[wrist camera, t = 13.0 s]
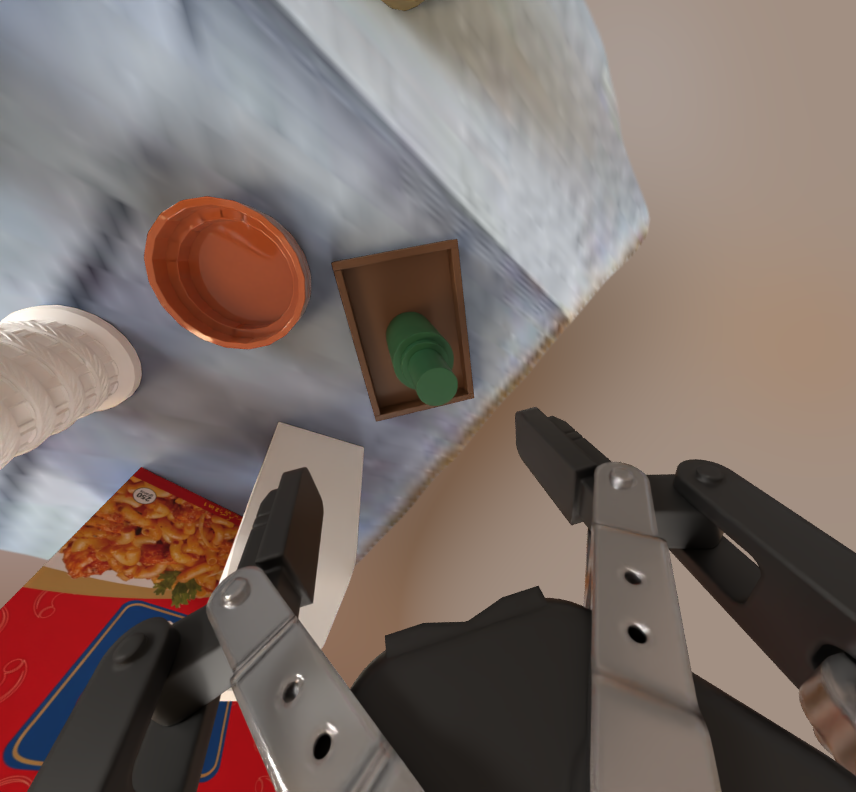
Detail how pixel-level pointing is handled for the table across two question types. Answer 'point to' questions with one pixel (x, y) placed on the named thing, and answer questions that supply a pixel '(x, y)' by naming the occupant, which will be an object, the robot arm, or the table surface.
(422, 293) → the tray
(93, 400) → the decorative container
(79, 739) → the robot arm
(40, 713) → the pasta box
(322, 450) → the milk
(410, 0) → the squeeze bottle
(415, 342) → the bottle
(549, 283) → the table surface
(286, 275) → the bowl
